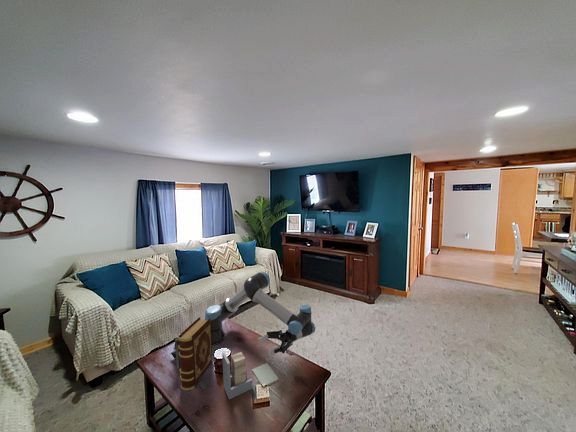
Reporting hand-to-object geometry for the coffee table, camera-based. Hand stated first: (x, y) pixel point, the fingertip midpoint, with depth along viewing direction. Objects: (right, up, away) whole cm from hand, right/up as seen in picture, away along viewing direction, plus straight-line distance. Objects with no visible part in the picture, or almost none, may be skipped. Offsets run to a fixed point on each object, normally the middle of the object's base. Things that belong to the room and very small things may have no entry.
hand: (263, 346), depth 136 cm
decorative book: (-40, -18, +2) cm, 44 cm away
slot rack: (-13, -19, -7) cm, 24 cm away
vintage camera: (-54, -17, +14) cm, 59 cm away
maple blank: (-13, -19, -7) cm, 24 cm away
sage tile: (+1, -18, +2) cm, 18 cm away
